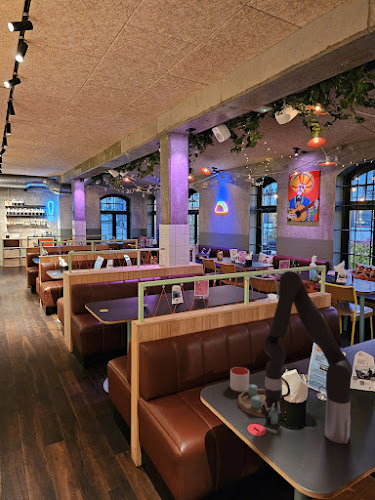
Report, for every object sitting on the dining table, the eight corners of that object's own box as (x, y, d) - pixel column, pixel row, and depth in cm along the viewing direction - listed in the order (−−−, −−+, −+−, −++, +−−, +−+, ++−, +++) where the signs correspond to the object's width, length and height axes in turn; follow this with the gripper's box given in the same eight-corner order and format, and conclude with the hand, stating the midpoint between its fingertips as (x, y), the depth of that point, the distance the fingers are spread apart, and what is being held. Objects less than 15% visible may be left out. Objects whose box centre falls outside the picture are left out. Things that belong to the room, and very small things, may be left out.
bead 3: (279, 421, 157) (279, 410, 156) (275, 426, 153) (276, 414, 152) (269, 418, 159) (269, 407, 158) (266, 423, 155) (266, 411, 155)
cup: (226, 387, 188) (226, 370, 187) (239, 382, 194) (239, 365, 193) (239, 395, 180) (240, 377, 179) (252, 389, 186) (253, 371, 186)
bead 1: (258, 396, 178) (258, 385, 177) (254, 399, 174) (255, 389, 174) (250, 393, 180) (250, 383, 180) (246, 397, 177) (247, 387, 176)
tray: (291, 401, 174) (291, 396, 174) (275, 424, 155) (275, 418, 155) (249, 389, 187) (249, 383, 187) (229, 408, 168) (229, 402, 168)
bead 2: (261, 408, 166) (261, 398, 165) (258, 413, 162) (258, 402, 162) (253, 406, 168) (253, 395, 168) (249, 410, 165) (249, 399, 164)
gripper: (280, 378, 161) (279, 413, 162) (255, 385, 154) (254, 421, 156) (291, 385, 154) (290, 422, 156) (266, 393, 148) (265, 430, 149)
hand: (272, 421), depth 156 cm, fingers closed on bead 3, 4 cm apart
